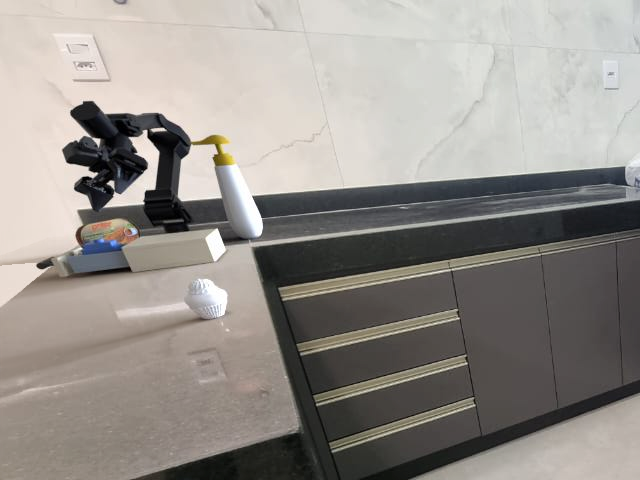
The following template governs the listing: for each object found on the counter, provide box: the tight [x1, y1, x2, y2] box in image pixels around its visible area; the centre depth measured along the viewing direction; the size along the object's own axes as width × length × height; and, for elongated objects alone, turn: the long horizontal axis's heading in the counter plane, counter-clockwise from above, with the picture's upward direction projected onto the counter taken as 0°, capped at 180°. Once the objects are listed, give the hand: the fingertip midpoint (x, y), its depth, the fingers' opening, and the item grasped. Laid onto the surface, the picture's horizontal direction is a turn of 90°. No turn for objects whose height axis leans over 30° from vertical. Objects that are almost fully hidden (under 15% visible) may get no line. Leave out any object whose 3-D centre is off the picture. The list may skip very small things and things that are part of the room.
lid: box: [81, 238, 123, 255], centre depth 130 cm, size 5×6×6 cm
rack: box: [35, 243, 130, 278], centre depth 130 cm, size 20×13×4 cm
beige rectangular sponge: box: [121, 228, 226, 273], centre depth 136 cm, size 17×15×6 cm
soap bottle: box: [190, 134, 263, 240], centre depth 155 cm, size 13×10×29 cm
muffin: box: [183, 278, 228, 320], centre depth 94 cm, size 6×6×7 cm
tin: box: [74, 217, 142, 249], centre depth 151 cm, size 15×3×8 cm, turn 168°
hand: (106, 202), depth 126 cm, fingers open, 9 cm apart
